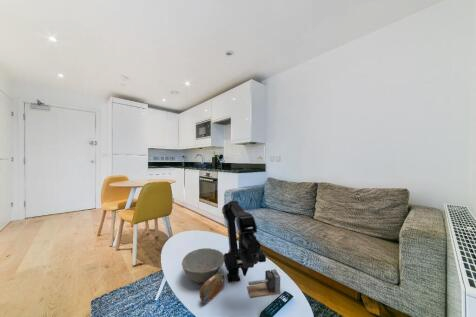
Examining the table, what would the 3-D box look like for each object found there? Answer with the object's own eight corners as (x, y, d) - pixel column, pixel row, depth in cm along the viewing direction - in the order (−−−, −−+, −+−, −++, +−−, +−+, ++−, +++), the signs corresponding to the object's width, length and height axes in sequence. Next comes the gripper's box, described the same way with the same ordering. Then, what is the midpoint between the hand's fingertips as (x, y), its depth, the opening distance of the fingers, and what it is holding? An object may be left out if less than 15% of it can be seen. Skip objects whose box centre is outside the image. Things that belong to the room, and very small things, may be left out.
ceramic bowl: (172, 280, 98) (172, 261, 98) (204, 259, 117) (204, 244, 116) (202, 300, 85) (202, 279, 85) (232, 273, 104) (232, 256, 104)
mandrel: (246, 287, 94) (247, 271, 93) (274, 283, 97) (275, 268, 96) (250, 298, 87) (250, 281, 87) (280, 293, 90) (280, 277, 90)
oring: (265, 282, 95) (265, 270, 95) (269, 282, 96) (269, 270, 96) (269, 292, 89) (270, 279, 89) (274, 291, 90) (274, 278, 89)
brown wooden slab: (203, 307, 81) (203, 289, 81) (198, 304, 83) (198, 286, 83) (225, 287, 93) (225, 271, 93) (220, 284, 95) (220, 268, 95)
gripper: (227, 253, 74) (226, 291, 75) (270, 249, 78) (270, 285, 79) (223, 240, 85) (223, 273, 86) (262, 237, 89) (261, 269, 90)
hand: (244, 275), depth 85 cm, fingers closed
